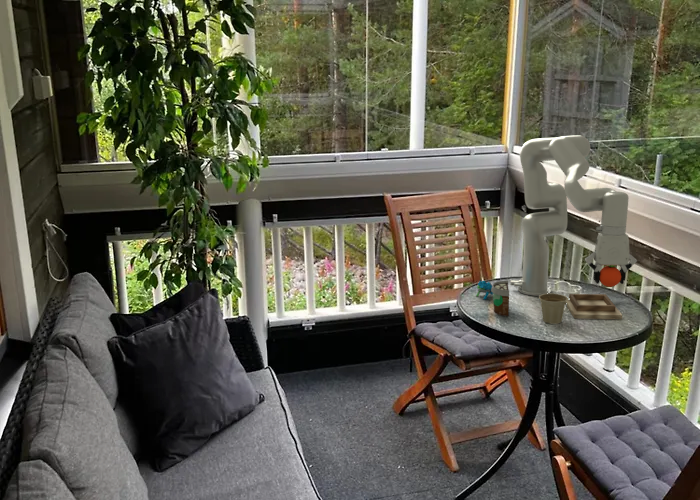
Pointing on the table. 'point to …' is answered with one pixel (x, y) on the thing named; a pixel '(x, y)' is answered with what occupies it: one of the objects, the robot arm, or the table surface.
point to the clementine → (610, 276)
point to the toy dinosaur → (484, 288)
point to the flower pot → (552, 307)
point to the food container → (501, 298)
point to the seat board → (592, 307)
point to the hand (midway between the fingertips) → (608, 282)
